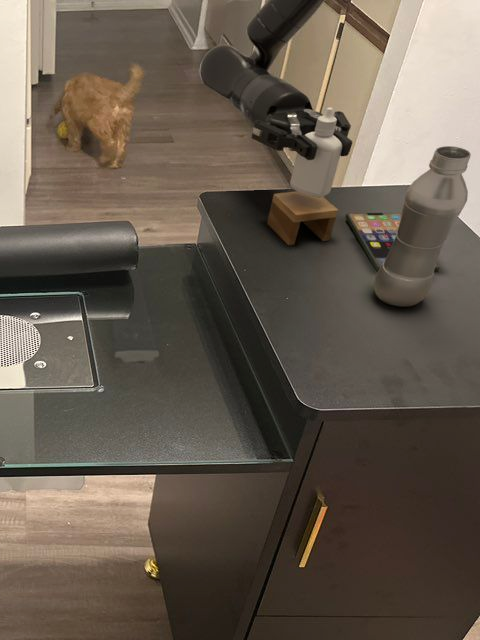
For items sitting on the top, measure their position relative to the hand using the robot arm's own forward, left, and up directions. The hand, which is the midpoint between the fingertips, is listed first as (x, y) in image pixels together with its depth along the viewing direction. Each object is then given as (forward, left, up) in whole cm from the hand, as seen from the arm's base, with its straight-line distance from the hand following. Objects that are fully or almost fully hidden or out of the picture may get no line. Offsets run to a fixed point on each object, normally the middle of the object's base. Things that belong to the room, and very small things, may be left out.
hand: (330, 151), depth 99 cm
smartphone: (-11, +4, -14) cm, 18 cm away
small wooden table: (0, -3, -14) cm, 14 cm away
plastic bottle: (-4, +17, -14) cm, 22 cm away
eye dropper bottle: (0, -3, -7) cm, 8 cm away
